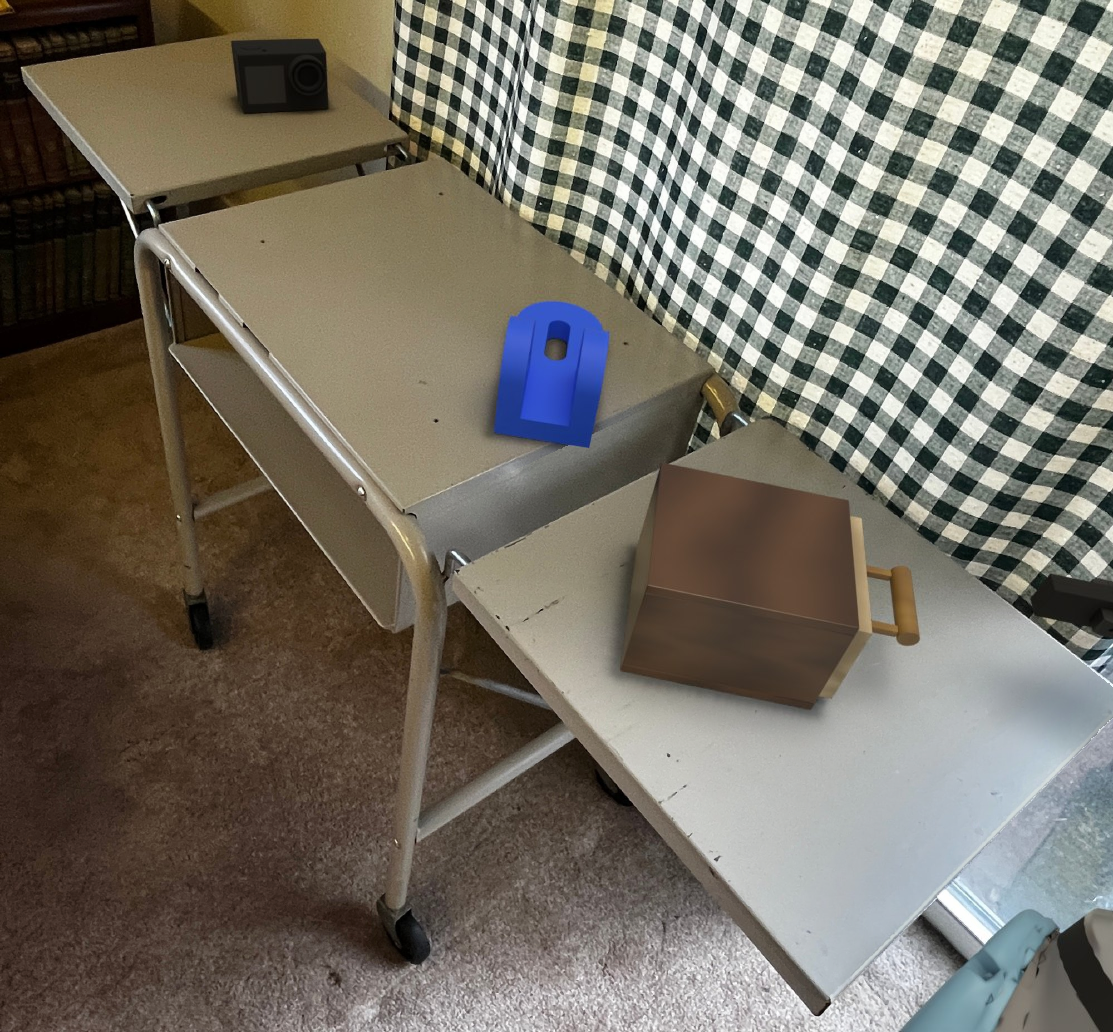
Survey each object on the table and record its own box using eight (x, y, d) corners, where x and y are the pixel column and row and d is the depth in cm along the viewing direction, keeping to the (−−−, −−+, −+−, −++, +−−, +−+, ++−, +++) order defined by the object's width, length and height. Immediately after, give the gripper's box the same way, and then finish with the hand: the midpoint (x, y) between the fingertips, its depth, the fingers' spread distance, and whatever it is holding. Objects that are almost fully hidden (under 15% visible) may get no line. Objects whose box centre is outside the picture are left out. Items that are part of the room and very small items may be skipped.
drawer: (879, 597, 74) (920, 529, 68) (891, 711, 66) (938, 646, 61) (666, 553, 74) (689, 482, 68) (655, 663, 67) (680, 594, 61)
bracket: (589, 448, 82) (606, 365, 76) (493, 432, 82) (502, 348, 76) (602, 326, 95) (617, 246, 88) (519, 313, 94) (528, 231, 88)
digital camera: (244, 118, 114) (238, 58, 109) (236, 98, 118) (229, 39, 112) (331, 114, 118) (328, 56, 113) (321, 94, 121) (318, 37, 116)
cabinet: (806, 584, 75) (849, 499, 68) (810, 710, 67) (859, 628, 60) (636, 549, 75) (661, 461, 68) (620, 670, 67) (647, 585, 60)
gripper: (1394, 783, 61) (1033, 707, 62) (1314, 624, 70) (999, 558, 71) (1493, 721, 56) (1096, 639, 56) (1392, 558, 65) (1050, 487, 65)
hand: (1042, 594), depth 63 cm, fingers closed
